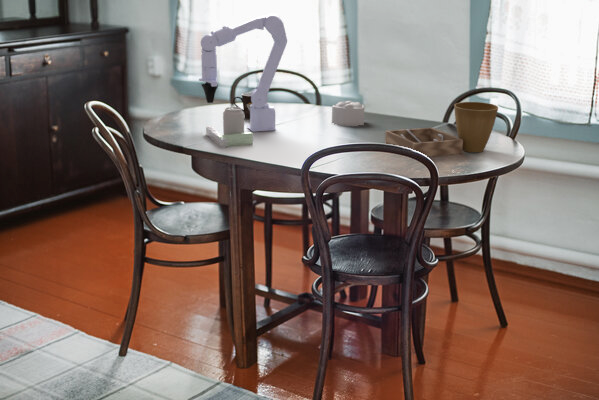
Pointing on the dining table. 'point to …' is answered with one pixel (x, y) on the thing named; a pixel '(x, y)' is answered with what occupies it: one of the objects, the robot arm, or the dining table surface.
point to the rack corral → (426, 141)
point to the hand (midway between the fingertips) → (210, 102)
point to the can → (233, 120)
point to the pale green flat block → (229, 138)
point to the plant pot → (474, 124)
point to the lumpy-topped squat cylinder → (348, 113)
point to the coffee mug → (245, 104)
